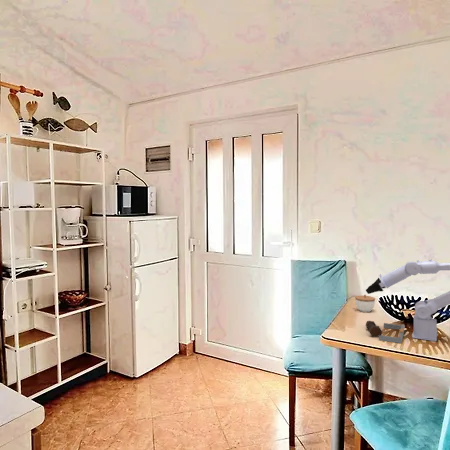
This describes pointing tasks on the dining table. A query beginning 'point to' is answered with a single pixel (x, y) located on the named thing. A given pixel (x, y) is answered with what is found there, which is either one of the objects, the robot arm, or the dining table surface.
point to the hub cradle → (393, 339)
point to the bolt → (373, 329)
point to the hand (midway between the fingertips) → (367, 290)
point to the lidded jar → (365, 303)
